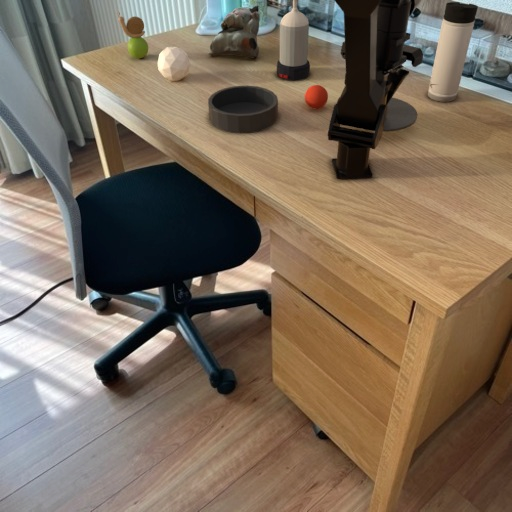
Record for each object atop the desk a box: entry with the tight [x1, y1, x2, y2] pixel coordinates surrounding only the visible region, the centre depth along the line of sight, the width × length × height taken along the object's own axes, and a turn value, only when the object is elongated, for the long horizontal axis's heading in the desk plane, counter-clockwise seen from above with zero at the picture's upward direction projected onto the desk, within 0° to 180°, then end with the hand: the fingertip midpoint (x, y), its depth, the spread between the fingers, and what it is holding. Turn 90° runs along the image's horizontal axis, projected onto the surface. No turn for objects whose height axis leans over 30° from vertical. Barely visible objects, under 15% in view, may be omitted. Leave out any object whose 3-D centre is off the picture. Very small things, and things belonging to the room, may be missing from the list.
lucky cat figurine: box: [206, 5, 261, 59], centre depth 137 cm, size 15×12×14 cm
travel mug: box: [427, 1, 479, 103], centre depth 113 cm, size 6×7×20 cm
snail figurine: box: [116, 11, 149, 59], centre depth 137 cm, size 5×6×12 cm
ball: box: [304, 84, 329, 110], centre depth 115 cm, size 5×5×5 cm
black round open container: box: [207, 85, 279, 134], centre depth 112 cm, size 15×15×4 cm
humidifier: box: [276, 0, 311, 82], centre depth 123 cm, size 8×8×25 cm
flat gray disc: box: [383, 93, 419, 133], centre depth 105 cm, size 15×15×5 cm
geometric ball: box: [156, 46, 191, 82], centre depth 127 cm, size 8×8×8 cm
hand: (379, 109), depth 105 cm, fingers closed on flat gray disc, 2 cm apart
